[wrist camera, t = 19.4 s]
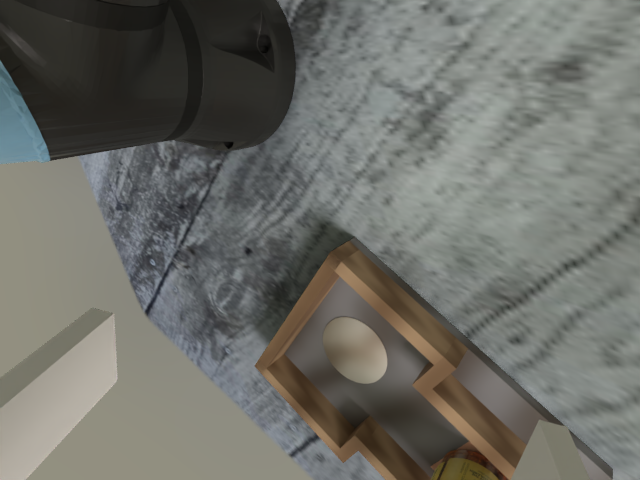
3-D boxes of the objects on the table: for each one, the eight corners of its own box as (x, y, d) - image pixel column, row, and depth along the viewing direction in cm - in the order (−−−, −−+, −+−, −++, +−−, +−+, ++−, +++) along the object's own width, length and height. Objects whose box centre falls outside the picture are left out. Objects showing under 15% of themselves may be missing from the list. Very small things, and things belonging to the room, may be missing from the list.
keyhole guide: (278, 347, 48) (254, 366, 45) (354, 237, 38) (330, 251, 35) (460, 538, 42) (446, 576, 39) (612, 469, 32) (611, 512, 28)
